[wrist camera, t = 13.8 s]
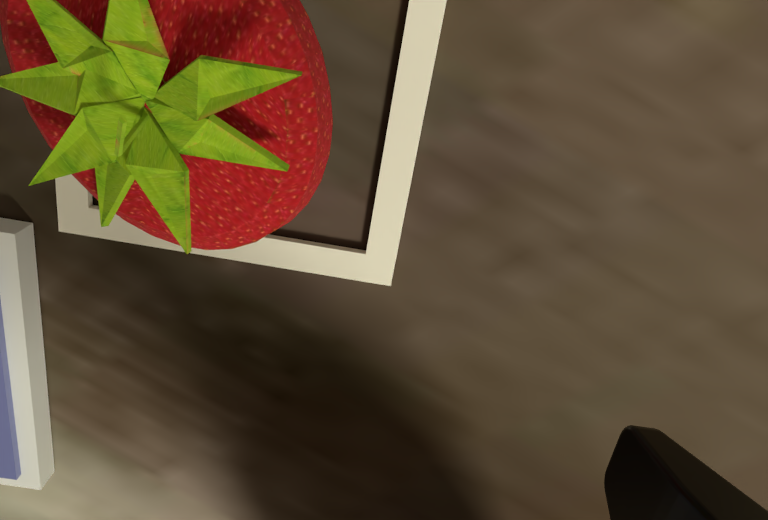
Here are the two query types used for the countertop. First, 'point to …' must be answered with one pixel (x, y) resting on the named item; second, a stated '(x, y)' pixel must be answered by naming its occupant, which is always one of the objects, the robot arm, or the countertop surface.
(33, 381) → the ink pad
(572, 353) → the countertop surface
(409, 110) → the print frame
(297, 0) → the strawberry
